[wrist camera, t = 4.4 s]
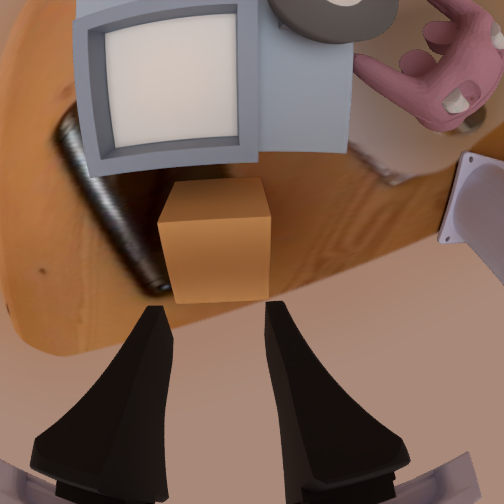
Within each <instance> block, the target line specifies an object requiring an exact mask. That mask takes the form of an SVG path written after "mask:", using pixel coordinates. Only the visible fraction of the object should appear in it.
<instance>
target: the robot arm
mask: <svg viewBox="0 0 504 504" xmlns="http://www.w3.org/2000/svg"><path fill="white" fill-rule="evenodd" d="M469 158H470V159H469ZM437 241H438V242H439V243H440V244H451V243H467V244H468V245H469V246H470V247H471V248H472V250H474V252H475V253H476V254H477V255H478V256H479V257H480V258H481V259H482V260H483V262H484V263H485V264H486V265H487V266H488V267H489V269H490V270H491V271H492V272H493V273H494V274H495V276H496V277H497V278H498V279H499V280H500V282H501V283H502V284H503V286H504V161H501V160H498V159H495V158H491V157H488V156H484V155H480V154H477V153H473V152H469V151H463V152H462V153H461V155H460V159H459V163H458V168H457V172H456V176H455V180H454V184H453V188H452V192H451V195H450V199H449V202H448V206H447V209H446V212H445V216H444V219H443V222H442V225H441V228H440V231H439V234H438V237H437ZM265 310H266V311H265V334H264V336H265V347H266V357H267V363H268V368H269V372H270V377H271V381H272V386H273V391H274V396H275V400H276V405H277V410H278V416H279V426H280V435H281V445H282V456H283V469H284V480H285V481H284V482H285V497H286V504H474V503H475V502H477V501H478V500H479V499H481V497H482V496H481V493H480V488H479V485H478V481H477V477H476V474H475V470H474V467H473V464H472V461H471V457H470V454H469V452H465V453H464V454H462V455H460V456H458V457H456V458H455V459H453V460H451V461H449V462H447V463H445V464H443V465H441V466H439V467H437V468H435V469H433V470H431V471H429V472H427V473H424V474H422V475H420V476H418V477H416V478H414V479H412V480H410V481H407V482H405V483H402V484H400V485H397V486H394V484H393V480H395V478H396V477H395V474H394V471H396V470H398V469H400V468H402V467H404V466H406V465H408V464H409V463H410V461H411V460H410V457H409V454H408V451H407V449H406V446H405V444H404V442H403V440H402V438H400V437H399V436H398V435H396V434H395V433H393V432H392V431H390V430H389V429H388V428H386V427H385V426H384V425H382V424H381V423H380V422H378V421H377V420H376V419H375V418H373V417H372V416H371V415H370V414H369V413H367V412H366V411H365V410H364V409H363V408H362V407H361V406H360V405H359V404H358V403H357V402H356V401H354V400H353V399H352V398H351V397H350V396H349V395H348V394H347V393H346V392H345V391H344V390H343V389H342V387H341V386H340V385H338V383H337V382H336V381H335V380H334V379H333V377H332V376H331V375H330V374H329V373H328V371H327V370H326V369H325V368H324V366H323V365H322V364H321V362H320V361H319V360H318V358H317V357H316V356H315V354H314V353H313V351H312V350H311V349H310V347H309V346H308V344H307V342H306V341H305V339H304V338H303V336H302V335H301V333H300V331H299V330H298V328H297V326H296V325H295V323H294V321H293V319H292V317H291V315H290V314H289V312H288V309H287V307H286V305H285V303H284V302H283V301H269V302H266V308H265ZM172 359H173V336H172V332H171V329H170V326H169V323H168V320H167V317H166V314H165V311H164V308H163V306H147V307H146V309H145V310H144V312H143V314H142V315H141V317H140V319H139V320H138V322H137V324H136V325H135V327H134V328H133V330H132V332H131V333H130V335H129V336H128V338H127V339H126V341H125V343H124V344H123V346H122V347H121V349H120V350H119V352H118V353H117V355H116V356H115V357H114V359H113V360H112V362H111V363H110V364H109V366H108V367H107V369H106V370H105V371H104V372H103V374H102V375H101V376H100V378H99V379H98V380H97V381H96V382H95V384H94V385H93V386H92V387H91V388H90V389H89V391H88V392H87V393H86V394H85V395H84V396H83V397H82V398H81V399H80V400H79V401H78V402H77V404H76V405H75V406H74V407H72V408H71V409H70V410H69V411H68V412H67V413H66V414H65V415H64V416H63V417H62V418H60V419H59V420H58V421H57V422H56V423H55V424H53V425H52V426H51V427H50V428H48V429H47V430H46V431H44V432H43V433H42V434H41V435H39V436H38V437H36V438H35V441H34V445H33V450H32V456H31V461H30V467H31V469H33V470H35V471H37V472H39V473H41V474H44V475H46V476H48V477H51V478H53V479H55V480H57V482H56V485H53V484H51V483H48V482H46V481H45V480H42V479H40V478H38V477H36V476H33V475H31V474H29V473H27V472H25V471H23V470H21V469H19V468H16V467H14V466H12V465H11V464H9V463H7V462H5V461H4V460H2V459H0V504H155V502H164V501H166V500H167V499H168V498H169V495H168V488H167V479H166V468H165V447H164V418H165V406H166V400H167V394H168V387H169V381H170V373H171V368H172Z"/></svg>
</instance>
